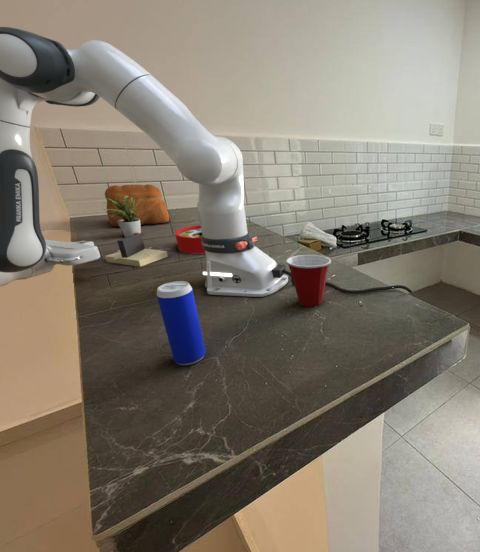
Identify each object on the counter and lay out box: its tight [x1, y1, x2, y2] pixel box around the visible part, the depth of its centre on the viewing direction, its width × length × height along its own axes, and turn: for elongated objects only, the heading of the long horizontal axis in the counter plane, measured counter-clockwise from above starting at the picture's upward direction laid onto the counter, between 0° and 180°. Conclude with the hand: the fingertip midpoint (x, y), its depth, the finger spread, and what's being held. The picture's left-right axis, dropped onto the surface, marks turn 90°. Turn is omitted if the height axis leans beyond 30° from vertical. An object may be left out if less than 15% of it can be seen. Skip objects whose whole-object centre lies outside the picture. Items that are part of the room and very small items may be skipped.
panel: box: [104, 246, 169, 267], centre depth 106 cm, size 14×13×2 cm
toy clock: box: [174, 224, 206, 255], centre depth 122 cm, size 20×6×20 cm
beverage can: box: [156, 280, 207, 366], centre depth 58 cm, size 5×5×15 cm
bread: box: [104, 183, 170, 228], centre depth 145 cm, size 18×22×17 cm
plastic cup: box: [286, 254, 332, 308], centre depth 82 cm, size 11×11×12 cm
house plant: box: [102, 195, 146, 238], centre depth 127 cm, size 14×14×16 cm
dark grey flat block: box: [117, 232, 146, 258], centre depth 105 cm, size 9×2×6 cm, turn 6°
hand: (90, 243), depth 95 cm, fingers closed
